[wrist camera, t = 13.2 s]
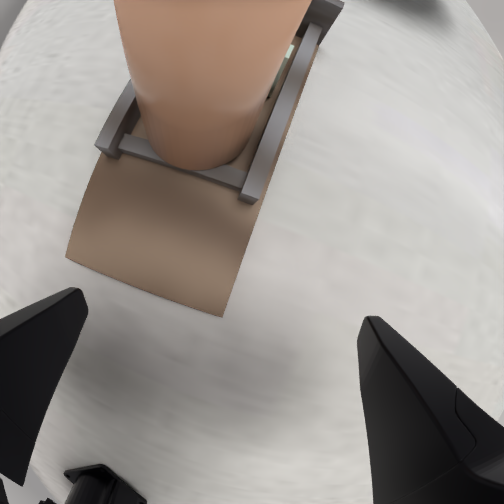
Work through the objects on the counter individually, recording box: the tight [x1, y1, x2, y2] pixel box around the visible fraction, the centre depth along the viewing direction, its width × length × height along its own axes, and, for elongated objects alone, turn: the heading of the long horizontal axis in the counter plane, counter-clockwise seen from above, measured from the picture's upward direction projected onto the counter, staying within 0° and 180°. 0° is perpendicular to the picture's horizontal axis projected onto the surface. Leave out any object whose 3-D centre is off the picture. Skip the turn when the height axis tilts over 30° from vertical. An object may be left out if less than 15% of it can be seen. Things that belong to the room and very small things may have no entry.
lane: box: [65, 0, 344, 317], centre depth 14 cm, size 23×11×6 cm, turn 160°
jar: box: [114, 0, 312, 170], centre depth 9 cm, size 7×7×13 cm
